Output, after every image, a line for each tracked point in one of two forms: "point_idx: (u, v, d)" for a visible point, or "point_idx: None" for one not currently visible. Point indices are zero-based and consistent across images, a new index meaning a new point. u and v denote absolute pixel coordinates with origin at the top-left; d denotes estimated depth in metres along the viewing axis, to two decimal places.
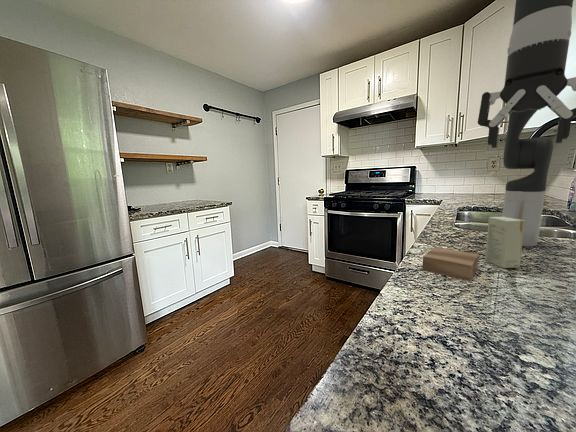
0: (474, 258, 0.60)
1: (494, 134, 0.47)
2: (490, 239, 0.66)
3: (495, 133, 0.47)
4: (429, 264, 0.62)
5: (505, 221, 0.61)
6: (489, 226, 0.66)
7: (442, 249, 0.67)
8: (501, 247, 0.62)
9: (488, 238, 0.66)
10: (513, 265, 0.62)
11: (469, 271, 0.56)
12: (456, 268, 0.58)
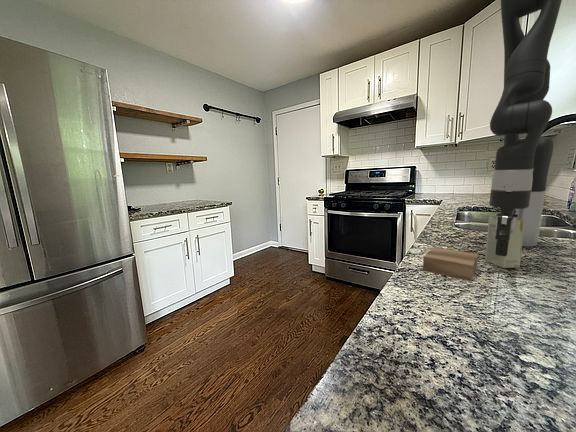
0: (474, 258, 0.60)
1: (507, 247, 0.61)
2: (490, 239, 0.66)
3: (507, 246, 0.61)
4: (430, 265, 0.62)
5: None
6: (489, 226, 0.66)
7: (441, 249, 0.67)
8: None
9: (488, 238, 0.66)
10: (513, 265, 0.62)
11: (470, 271, 0.56)
12: (457, 268, 0.58)
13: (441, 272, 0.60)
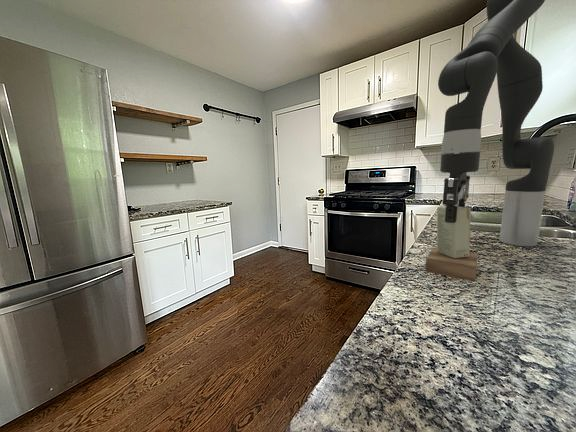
0: (475, 258, 0.60)
1: (456, 212, 0.57)
2: (440, 229, 0.64)
3: (456, 211, 0.57)
4: (433, 266, 0.61)
5: None
6: (438, 216, 0.64)
7: None
8: (451, 238, 0.60)
9: (438, 228, 0.64)
10: (463, 254, 0.60)
11: (474, 272, 0.56)
12: (461, 269, 0.57)
13: (444, 273, 0.60)
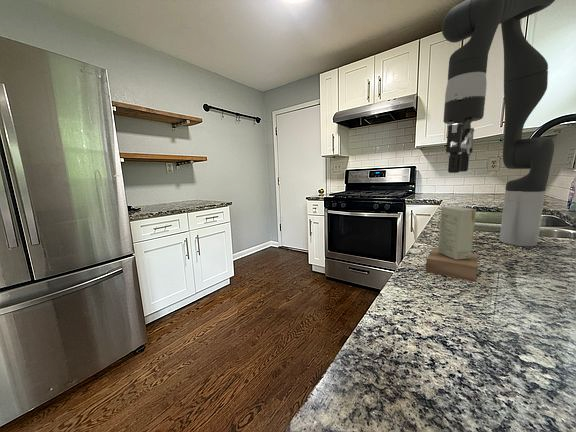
0: (476, 259, 0.60)
1: (460, 161, 0.55)
2: (443, 230, 0.63)
3: (460, 160, 0.55)
4: (433, 267, 0.61)
5: (458, 211, 0.58)
6: (442, 216, 0.63)
7: None
8: (453, 238, 0.59)
9: (441, 229, 0.63)
10: (465, 256, 0.59)
11: (474, 272, 0.56)
12: (461, 269, 0.57)
13: (445, 274, 0.59)
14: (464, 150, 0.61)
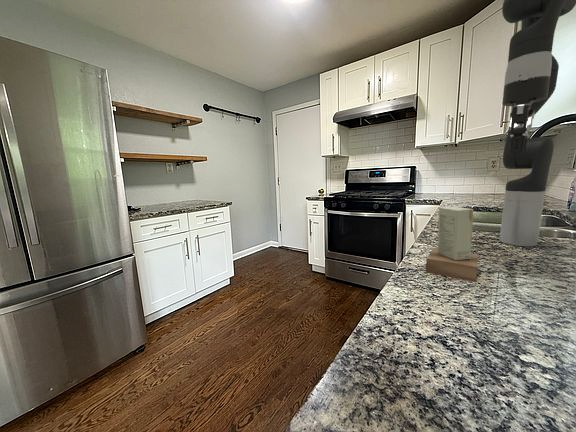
0: (476, 259, 0.60)
1: (524, 142, 0.55)
2: (441, 231, 0.63)
3: (524, 142, 0.55)
4: (433, 267, 0.60)
5: (455, 211, 0.58)
6: (440, 217, 0.63)
7: None
8: (452, 239, 0.59)
9: (439, 230, 0.63)
10: (465, 256, 0.59)
11: (475, 272, 0.55)
12: (462, 269, 0.57)
13: (445, 274, 0.59)
14: None
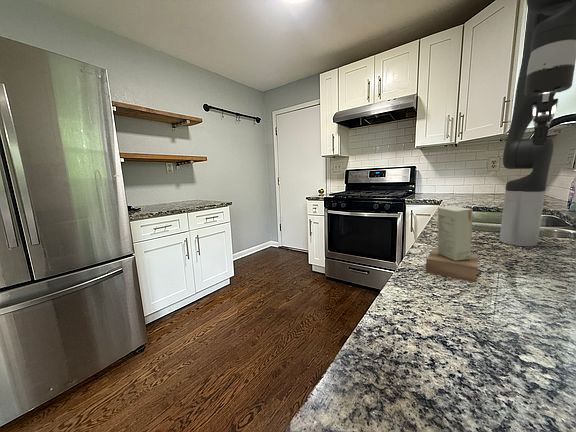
0: (476, 259, 0.60)
1: (547, 131, 0.54)
2: (441, 231, 0.62)
3: (547, 130, 0.54)
4: (433, 267, 0.60)
5: (454, 211, 0.57)
6: (439, 217, 0.62)
7: None
8: (452, 239, 0.59)
9: (439, 230, 0.63)
10: (465, 257, 0.59)
11: (475, 273, 0.55)
12: (462, 270, 0.57)
13: (445, 274, 0.59)
14: None
